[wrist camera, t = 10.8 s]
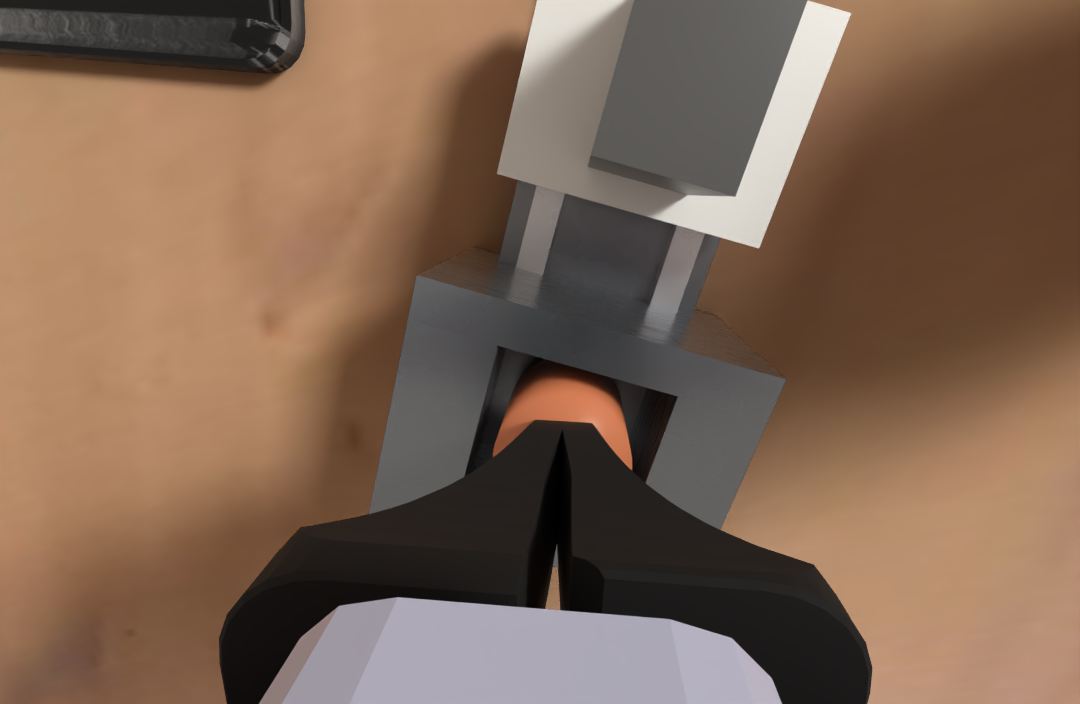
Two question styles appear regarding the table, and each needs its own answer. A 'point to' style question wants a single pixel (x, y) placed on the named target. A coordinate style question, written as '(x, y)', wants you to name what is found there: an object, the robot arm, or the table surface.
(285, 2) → the phone
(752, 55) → the carriage
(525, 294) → the rail base
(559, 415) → the button
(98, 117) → the table surface
